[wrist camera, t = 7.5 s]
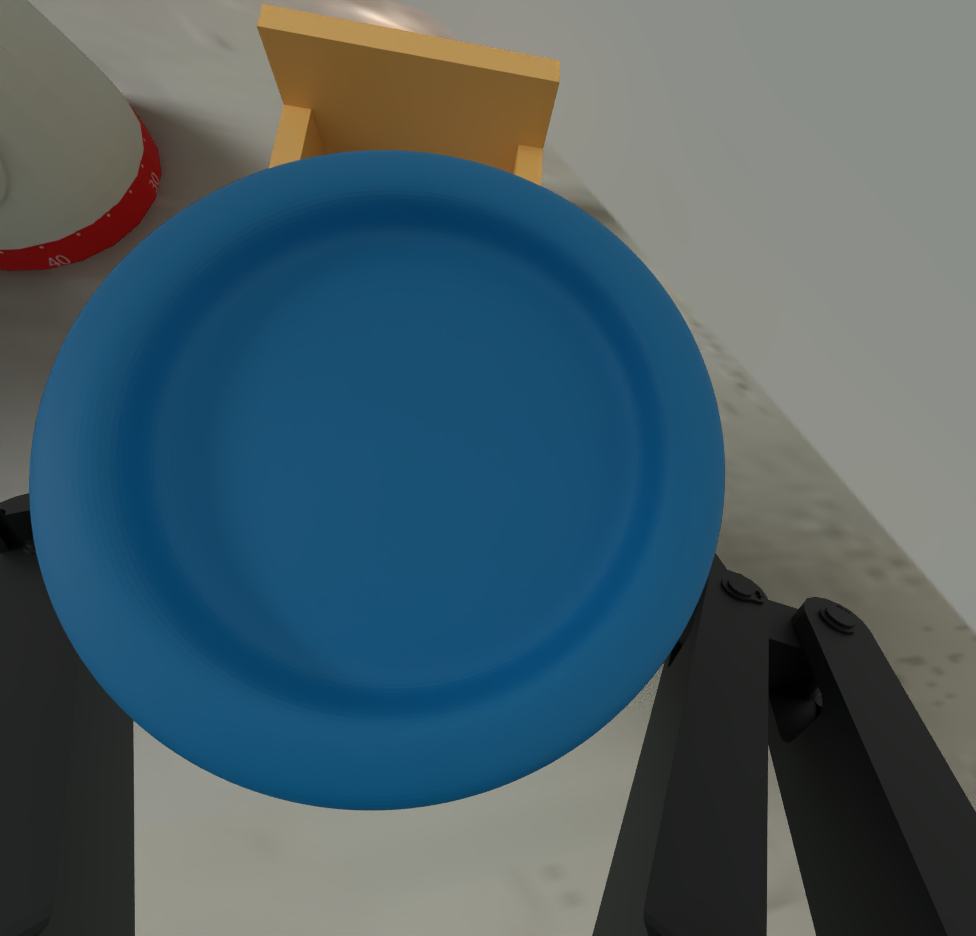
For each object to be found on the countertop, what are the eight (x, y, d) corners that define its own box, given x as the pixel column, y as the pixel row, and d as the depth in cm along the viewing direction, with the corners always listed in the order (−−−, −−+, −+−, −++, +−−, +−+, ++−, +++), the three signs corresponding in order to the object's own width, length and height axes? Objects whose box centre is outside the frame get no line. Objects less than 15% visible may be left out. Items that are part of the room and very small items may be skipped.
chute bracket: (517, 387, 26) (550, 312, 18) (270, 359, 24) (190, 265, 17) (528, 193, 29) (560, 60, 21) (312, 159, 28) (263, 3, 20)
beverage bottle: (352, 474, 23) (-74, 64, 4) (496, 455, 25) (700, 69, 5) (368, 628, 22) (-235, 1190, 2) (521, 599, 23) (958, 814, 4)
